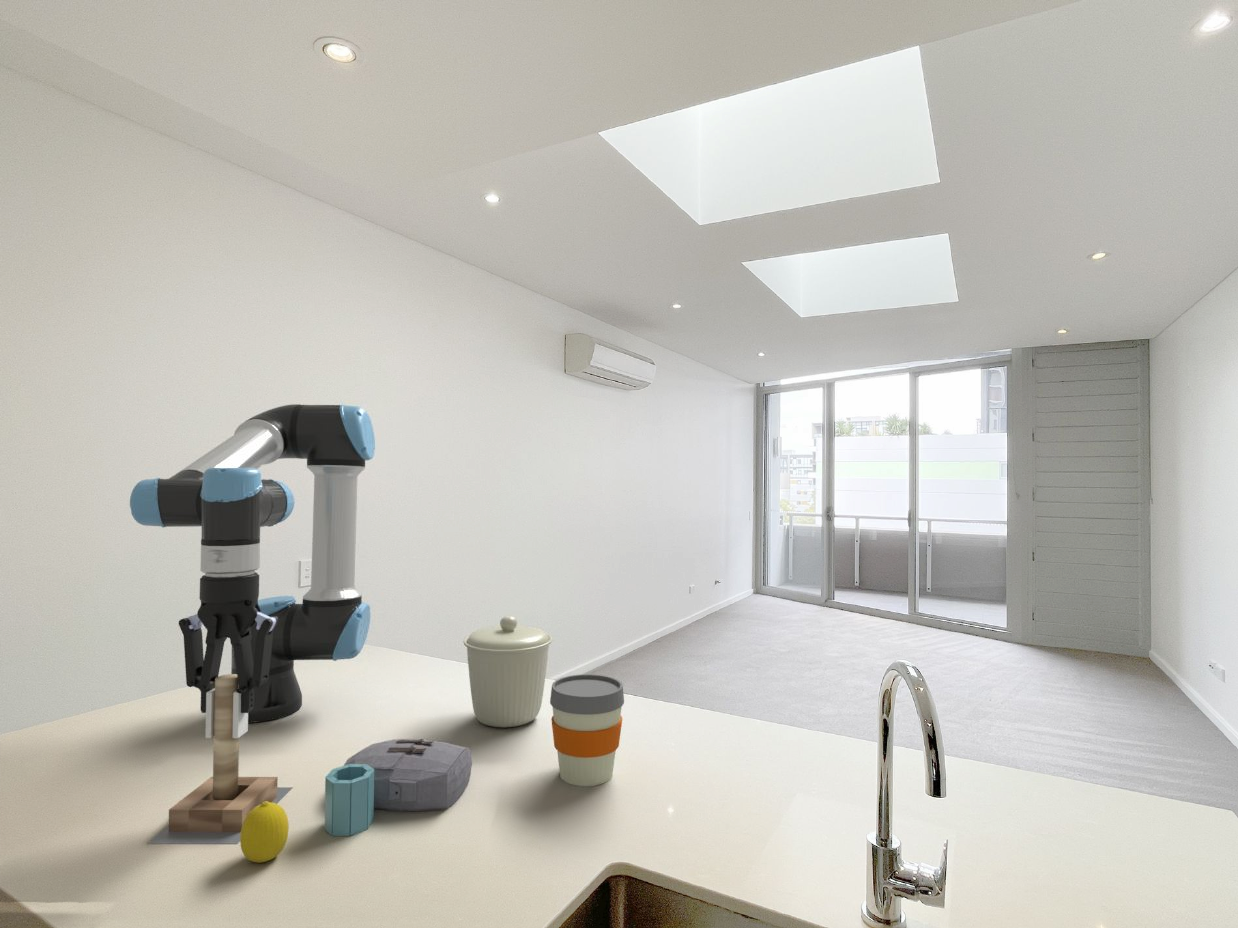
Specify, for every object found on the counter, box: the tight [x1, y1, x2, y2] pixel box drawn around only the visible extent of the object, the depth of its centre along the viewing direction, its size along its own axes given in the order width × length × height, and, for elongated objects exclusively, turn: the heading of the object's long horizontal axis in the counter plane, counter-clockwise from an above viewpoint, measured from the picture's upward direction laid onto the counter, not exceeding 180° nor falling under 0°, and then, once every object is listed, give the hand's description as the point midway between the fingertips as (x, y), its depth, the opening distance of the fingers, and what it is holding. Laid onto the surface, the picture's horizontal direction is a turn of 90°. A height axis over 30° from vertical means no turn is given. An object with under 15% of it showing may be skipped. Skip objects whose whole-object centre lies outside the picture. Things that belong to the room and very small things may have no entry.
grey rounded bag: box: [343, 738, 473, 812], centre depth 105 cm, size 15×8×20 cm
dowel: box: [212, 673, 240, 800], centre depth 98 cm, size 3×3×17 cm
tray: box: [145, 786, 294, 845], centre depth 98 cm, size 16×12×1 cm
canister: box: [462, 615, 553, 728], centre depth 138 cm, size 18×18×21 cm
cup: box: [324, 764, 375, 837], centre depth 95 cm, size 6×6×8 cm
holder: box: [168, 776, 278, 832], centre depth 98 cm, size 10×10×3 cm
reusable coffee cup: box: [549, 673, 625, 787], centre depth 114 cm, size 13×13×15 cm
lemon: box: [239, 801, 290, 864], centre depth 87 cm, size 6×6×8 cm
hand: (226, 734), depth 98 cm, fingers closed on dowel, 3 cm apart
